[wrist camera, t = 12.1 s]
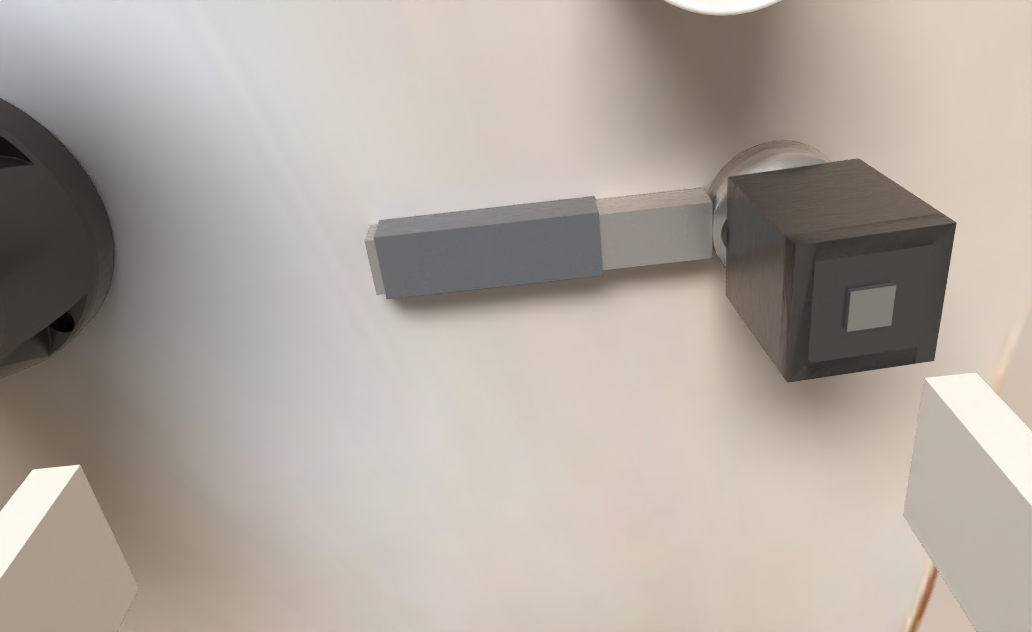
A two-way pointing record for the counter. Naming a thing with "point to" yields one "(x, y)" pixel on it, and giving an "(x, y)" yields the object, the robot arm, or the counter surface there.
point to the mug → (722, 6)
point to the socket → (836, 268)
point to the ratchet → (563, 234)
